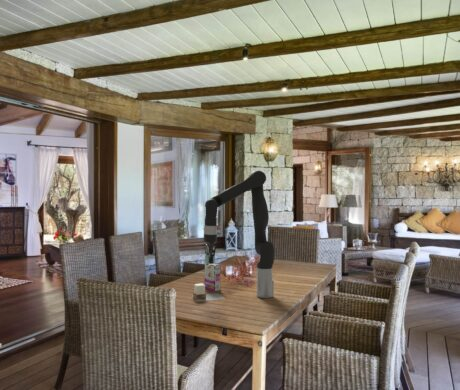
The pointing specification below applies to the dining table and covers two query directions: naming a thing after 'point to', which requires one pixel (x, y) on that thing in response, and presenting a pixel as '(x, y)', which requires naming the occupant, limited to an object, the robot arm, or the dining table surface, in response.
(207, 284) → the candy bar box
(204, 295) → the walnut base
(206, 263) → the teal cube
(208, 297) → the board
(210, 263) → the robot arm
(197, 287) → the cream cube
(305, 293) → the dining table surface
